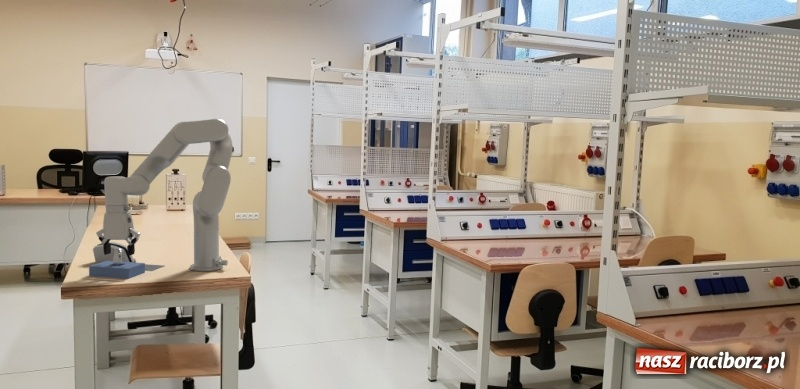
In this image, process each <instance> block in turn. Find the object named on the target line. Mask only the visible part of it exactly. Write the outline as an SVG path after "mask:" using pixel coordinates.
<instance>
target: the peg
mask: <svg viewBox="0 0 800 389" xmlns="http://www.w3.org/2000/svg"><path fill="white" fill-rule="evenodd" d="M121 265H122V248H115V249H113V266H121Z"/></svg>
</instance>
